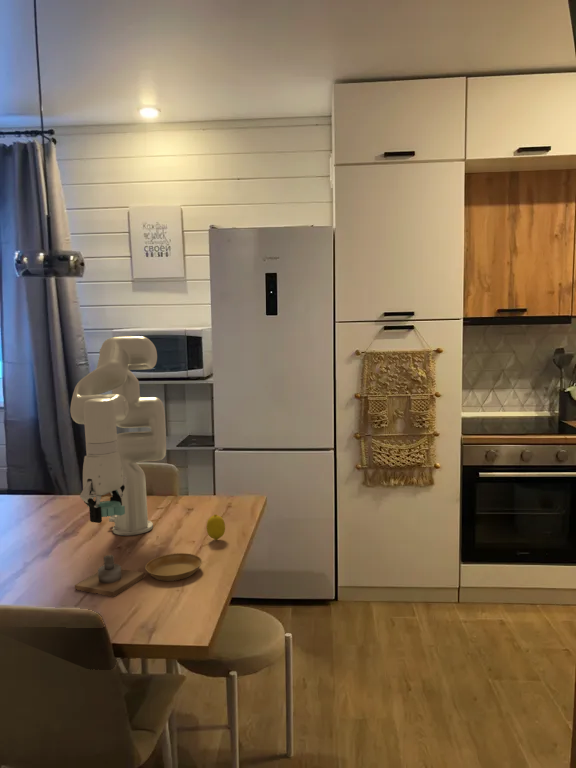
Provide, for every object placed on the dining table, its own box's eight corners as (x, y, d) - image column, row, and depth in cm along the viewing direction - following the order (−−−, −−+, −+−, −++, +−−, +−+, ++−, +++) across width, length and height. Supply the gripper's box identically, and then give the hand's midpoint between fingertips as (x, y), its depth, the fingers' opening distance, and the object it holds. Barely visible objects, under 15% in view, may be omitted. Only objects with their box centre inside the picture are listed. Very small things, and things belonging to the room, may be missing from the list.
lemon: (222, 543, 180) (221, 517, 179) (204, 543, 181) (203, 517, 180) (228, 537, 185) (226, 511, 185) (210, 536, 187) (209, 511, 186)
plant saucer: (176, 589, 150) (175, 579, 150) (133, 578, 158) (133, 568, 158) (213, 568, 163) (213, 558, 162) (172, 558, 171) (172, 549, 170)
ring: (85, 515, 151) (85, 507, 151) (104, 507, 158) (104, 499, 157) (113, 518, 148) (113, 511, 148) (131, 510, 154) (131, 502, 154)
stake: (75, 589, 152) (73, 562, 151) (107, 571, 162) (105, 545, 162) (113, 596, 147) (111, 568, 146) (144, 577, 158) (142, 551, 157)
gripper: (113, 440, 161) (117, 505, 163) (64, 454, 145) (70, 526, 147) (136, 441, 158) (140, 508, 160) (89, 456, 142) (94, 530, 144)
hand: (106, 516), depth 153 cm, fingers closed on ring, 7 cm apart
